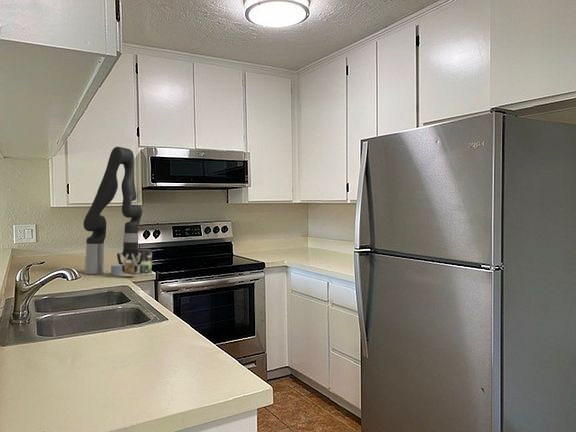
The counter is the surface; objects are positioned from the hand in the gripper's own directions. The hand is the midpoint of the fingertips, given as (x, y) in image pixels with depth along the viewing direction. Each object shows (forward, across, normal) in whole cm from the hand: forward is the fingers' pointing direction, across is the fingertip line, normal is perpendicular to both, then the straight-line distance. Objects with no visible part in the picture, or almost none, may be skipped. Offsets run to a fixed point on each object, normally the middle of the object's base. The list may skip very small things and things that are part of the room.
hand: (129, 272), depth 235 cm
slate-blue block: (+3, -8, +13) cm, 15 cm away
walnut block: (0, 0, 0) cm, 0 cm away
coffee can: (+3, +6, +13) cm, 15 cm away
